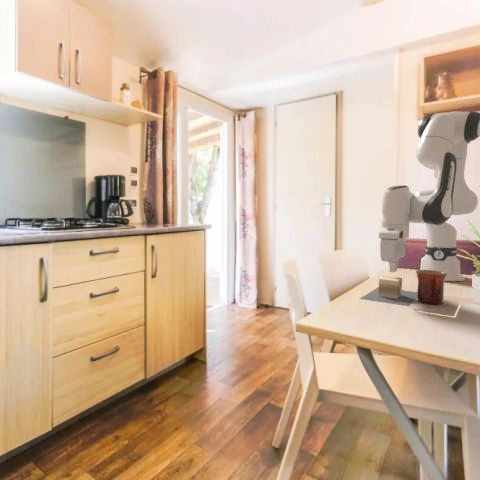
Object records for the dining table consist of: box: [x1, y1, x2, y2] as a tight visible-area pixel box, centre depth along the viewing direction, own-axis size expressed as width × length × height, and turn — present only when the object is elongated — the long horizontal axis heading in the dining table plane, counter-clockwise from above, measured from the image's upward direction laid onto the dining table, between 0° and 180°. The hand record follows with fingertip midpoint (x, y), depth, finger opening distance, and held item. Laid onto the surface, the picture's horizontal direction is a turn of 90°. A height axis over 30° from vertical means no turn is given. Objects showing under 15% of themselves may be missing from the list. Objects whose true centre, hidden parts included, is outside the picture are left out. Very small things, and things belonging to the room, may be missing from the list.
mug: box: [415, 269, 447, 306], centre depth 108 cm, size 12×9×10 cm
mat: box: [359, 286, 418, 307], centre depth 119 cm, size 22×15×1 cm
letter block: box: [378, 276, 403, 299], centre depth 118 cm, size 6×6×6 cm
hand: (393, 271), depth 120 cm, fingers closed
